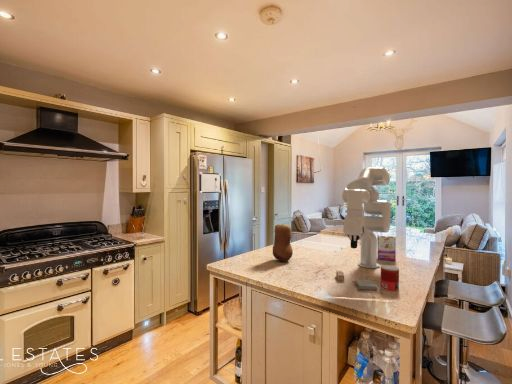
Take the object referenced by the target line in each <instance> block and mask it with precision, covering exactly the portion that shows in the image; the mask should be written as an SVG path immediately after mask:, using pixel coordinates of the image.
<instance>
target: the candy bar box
mask: <svg viewBox="0 0 512 384" xmlns="http://www.w3.org/2000/svg"><path fill="white" fill-rule="evenodd" d="M376 238H377V260H378V261H379V260H380V261H393V262H394V261H396V260H397V259H396V258H397V257H396V253H397V252H396V245H397V244H396V243H397V242H396V241H397V240H396V239H397V238H396V236H395V235H383V234H382V235H380V234H378V235H376Z"/></svg>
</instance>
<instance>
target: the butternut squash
mask: <svg viewBox="0 0 512 384" xmlns="http://www.w3.org/2000/svg"><path fill="white" fill-rule="evenodd" d="M273 231H274V240H273V241H274V242H273V247H272V256H273V257H274V258H275V260H277V261H279V262H282V263H286V262H287V261H290V259H291V258H292V257H293V255H294V254H293V248H292V245H291V239H292V228H291V226H290V225H288V224H285V223H277V224H276V225H275V227H274V230H273Z"/></svg>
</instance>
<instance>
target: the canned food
mask: <svg viewBox="0 0 512 384" xmlns="http://www.w3.org/2000/svg"><path fill="white" fill-rule="evenodd" d="M399 285H400V268H399V267H398V266H395V265H390V264H382V265H381V266H380V288H381V289H382V290H386V291H392V292H396V291H399V287H400V286H399Z"/></svg>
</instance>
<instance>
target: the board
mask: <svg viewBox="0 0 512 384" xmlns="http://www.w3.org/2000/svg"><path fill="white" fill-rule="evenodd" d="M351 282H352V284H353V285H354V288H355V289H356V291H357V292H358V293H369V294H383V292H382V291H381V290H380V288H379V287H378V286H377V284H376V283H375V285H376V286H377V290H368V289H359V287H358V285H357V284H356V280H351Z"/></svg>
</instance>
